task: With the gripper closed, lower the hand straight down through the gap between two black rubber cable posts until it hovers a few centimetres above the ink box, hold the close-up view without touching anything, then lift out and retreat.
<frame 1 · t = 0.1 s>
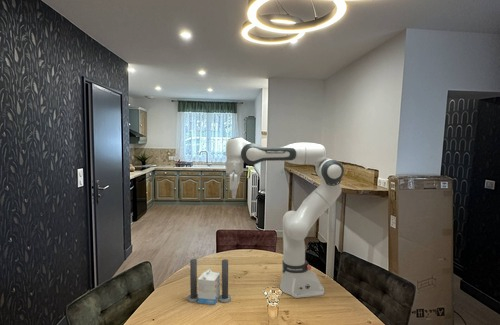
hand: (234, 196, 139), 48 cm above the table, tool pointing down, fingers open, 8 cm apart
cable post 1: (193, 299, 131), on the table
ink box: (209, 299, 131), on the table
cable post 2: (225, 299, 130), on the table
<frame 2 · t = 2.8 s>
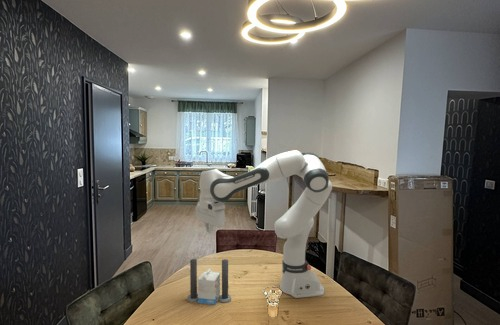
hand: (209, 231, 129), 33 cm above the table, tool pointing down, fingers closed
nothing on the table moved.
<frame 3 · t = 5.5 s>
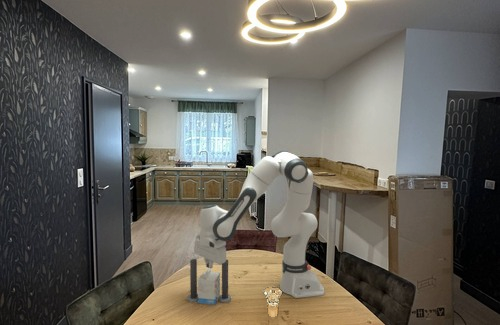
hand: (209, 267, 130), 16 cm above the table, tool pointing down, fingers closed
nothing on the table moved.
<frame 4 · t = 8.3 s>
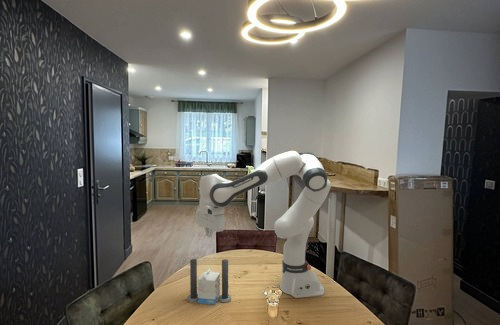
hand: (209, 236, 129), 31 cm above the table, tool pointing down, fingers closed
nothing on the table moved.
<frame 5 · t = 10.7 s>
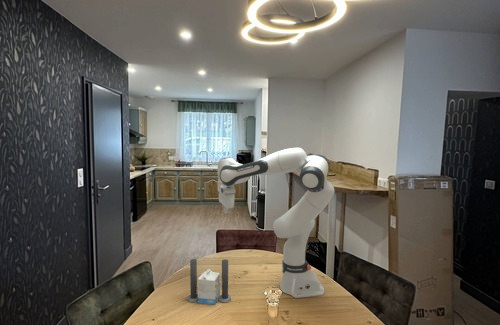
hand: (225, 213, 147), 37 cm above the table, tool pointing down, fingers closed
nothing on the table moved.
at the end: ink box moved 0.3 cm from its start; ink box tilted 0°; the gripper is holding nothing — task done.
